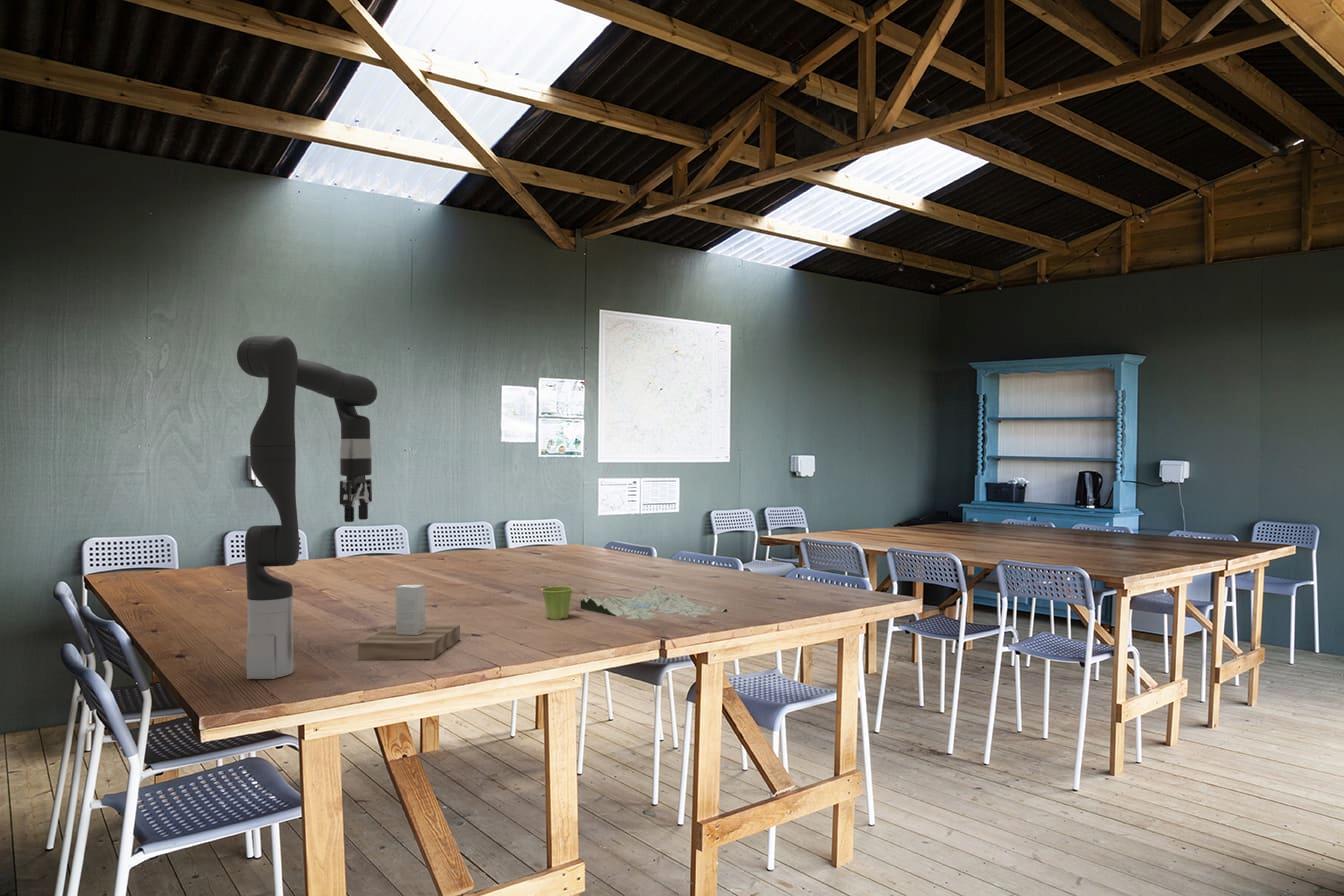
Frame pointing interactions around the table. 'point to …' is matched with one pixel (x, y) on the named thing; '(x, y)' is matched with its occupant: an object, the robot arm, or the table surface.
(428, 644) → the walnut stand
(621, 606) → the topographic map model
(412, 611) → the skincare box
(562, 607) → the plant pot
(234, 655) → the table surface
